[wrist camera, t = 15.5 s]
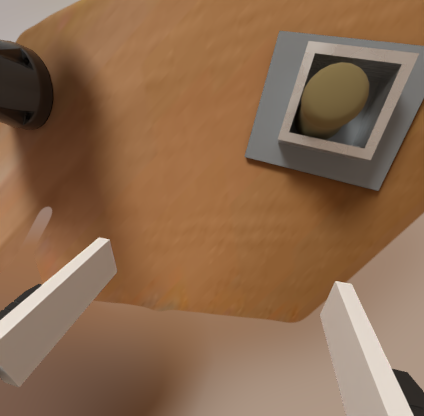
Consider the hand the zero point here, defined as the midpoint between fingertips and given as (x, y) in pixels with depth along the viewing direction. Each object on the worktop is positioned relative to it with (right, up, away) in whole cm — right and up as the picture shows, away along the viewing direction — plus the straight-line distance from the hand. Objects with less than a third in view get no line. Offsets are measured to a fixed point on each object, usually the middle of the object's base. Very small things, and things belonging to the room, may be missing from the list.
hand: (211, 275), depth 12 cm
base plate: (+15, +16, +15) cm, 27 cm away
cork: (+14, +16, +15) cm, 26 cm away
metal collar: (+15, +16, +14) cm, 26 cm away
